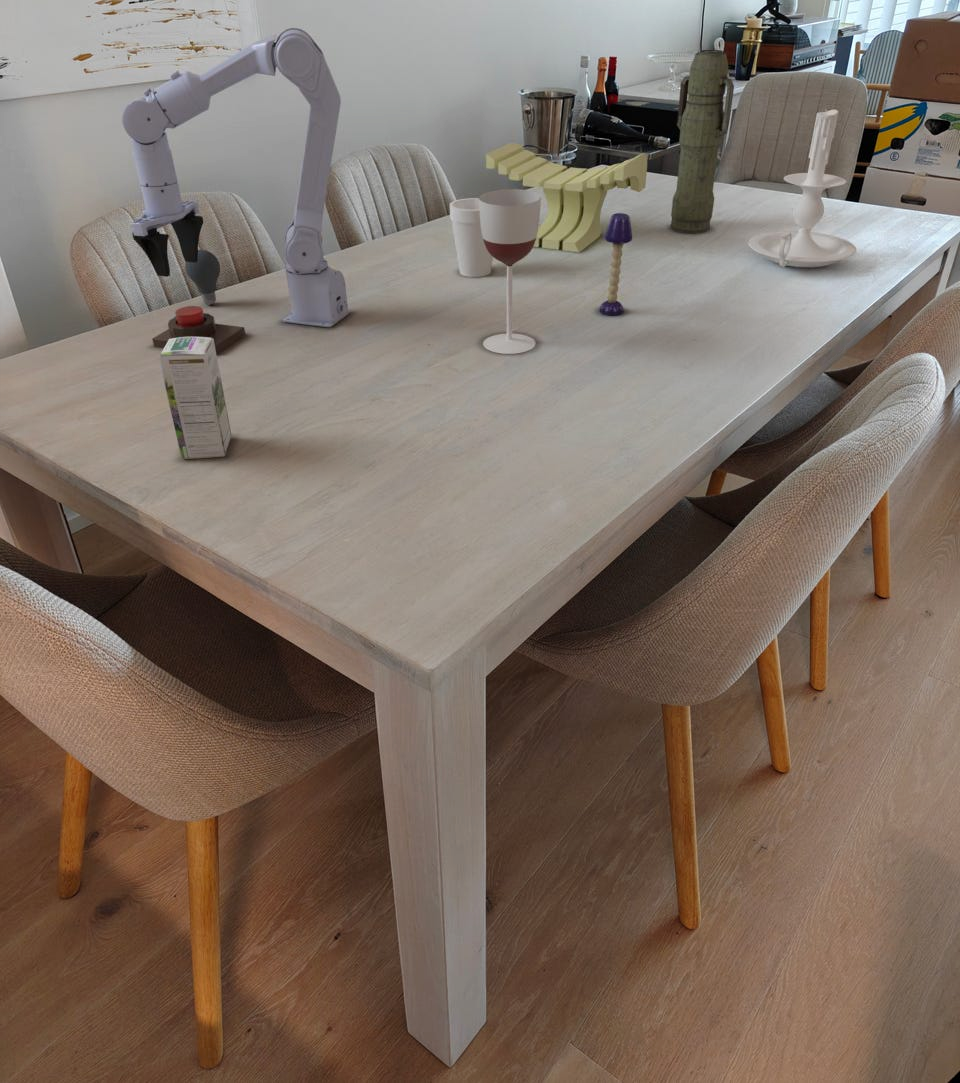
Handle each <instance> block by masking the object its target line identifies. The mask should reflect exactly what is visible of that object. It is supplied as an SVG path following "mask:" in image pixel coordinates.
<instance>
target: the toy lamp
mask: <svg viewBox="0 0 960 1083" xmlns="http://www.w3.org/2000/svg"><path fill="white" fill-rule="evenodd" d="M604 240H605V241H606V242H608V243H611V244H612V248H613V249H612V252H611V256H612V258H611V261H610V265H611V267H610V271H609V274H610V276H609V280H608V282H609V284H608V289H607V290H608V291H607V292H608V293H607V298H606V299H607V300H605V301H603V302H602V303H601V304H600V307H599V312H600V313H601V314H602V315H605V316H612V317H613V316H620V315H622V314H623V313H624V305H623V304H622V303H621V302H620V301H618V292H619V283H620V274H621V265H622V257H623V250H622V249H623V247H624V244H628V243H631V242H632V241H633V230H632V224H631V217H630V215H629V214H626V213H624V212H623V213H622V212H617V213H613V214H611V217H610V219H609V222H608V225H607V227H606V231H605V234H604Z"/></svg>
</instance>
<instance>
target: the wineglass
mask: <svg viewBox="0 0 960 1083" xmlns="http://www.w3.org/2000/svg"><path fill="white" fill-rule="evenodd" d="M541 196H542V195H541V194H540V193H538V192H536V191H533V190H528V189H521V188H519V189H518V188H507V189H505V188H504V189H496V190H491V191H488V192H484V193H482V194H480V195H479V197H478V198H479V210H480V223H481V231H482V237H483V241H484V244H485V247H486V249H487V250H488V252H489V253H490V254H491V255H492V256H493V259H495V260H496V261H498V262H500V263H502V264H503V265H506V333H500V334H494V335H492V336H489V337H487V338H486V339H484V340H483V343H482V345H483V347H484V348H485V349H487V350H488V351H490V352H493V353H498V354H503V355H504V354H505V355H513V354H515V355H516V354H521V353H526V352H528V351H531V350H533V349H534V348H535V347H536V344H537V343H536V341H535V339H533V338H532V337H531V336H528V335H525V334H520V333H513V266H514V265H515V264H516V263H518V262H520V261H521V260H523V259H525V258H526V257H527V256H528V255H529V254H530V253H531V251H532V250H533V248H534V247H533V246H534V244H535V241H536V238H537V233H538V228H539V227H540V226H539V225H540V216H541V203H542V202H541V201H542V200H541V199H542V197H541Z"/></svg>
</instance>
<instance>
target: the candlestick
mask: <svg viewBox="0 0 960 1083" xmlns="http://www.w3.org/2000/svg"><path fill="white" fill-rule="evenodd" d="M824 109H825V111H819V112H816V117H815V121H814V126H813V132H812V136H811V142H810V147H809V148H810V149H809V154H808V156H807V158H808V159H809V164H808V169H807V172H798V173H791V174H786V175H785V176H784V177H783V180H784V182H786V183H788V184H791V185H794V186H797V187H799V188H800V189H801V190H802V194H801V197H799V199H798V200H797V202H796V203H795V205H794V207H793V210H792V217H793V220H794V222H795V224H796V225H797V227H799V228H798V230H778V231H777V230H776V231H769V232H763V233H760V234H759V233H758V234H757V235H754V236H752V237H751V238H750V239H749V240H748V246H749V247H750V249H752V250H753V251H755V252H757V253H758V254H759V255H761V257H763V258H765V259H767V260H768V261H771V262H773V263H776V264H778V265H779V267H782V268H785V267H786V266H788V267H795V268H820V267H821V268H822V267H825V266H829V265H833V264H836V263H838V262H841V261H842V260H845V259H849V258H851V257H853V256H854V255H855V254H856V253H857V250H858V249H857V246H855V244H853V243H852V242H851V241H848V240H847V239H844V238H841V237H839V236H834V235H830V234H827V233H821V232H816V231H815V232H814V231H812V229H813V228H814V227H815V226H816V225H818V223H820V221H821V220H822V218H823V217H824V214H825V206H824V202H823V199H822V193H823V191H824V190H826V189H829V188H835V187H839V186H843V185H845V184H846V183H847V180H846V179H845V178H843V177H841V176H838V175H835V174H827V173H825V170H826V167H827V166H826V165H828V164H829V156H830V152H831V147H832V142H833V139H835V133H836V132H835V131H836V126H837V122H838V116H839V110H837V109H835V108H834V109H830V110H827V108H824Z"/></svg>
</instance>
